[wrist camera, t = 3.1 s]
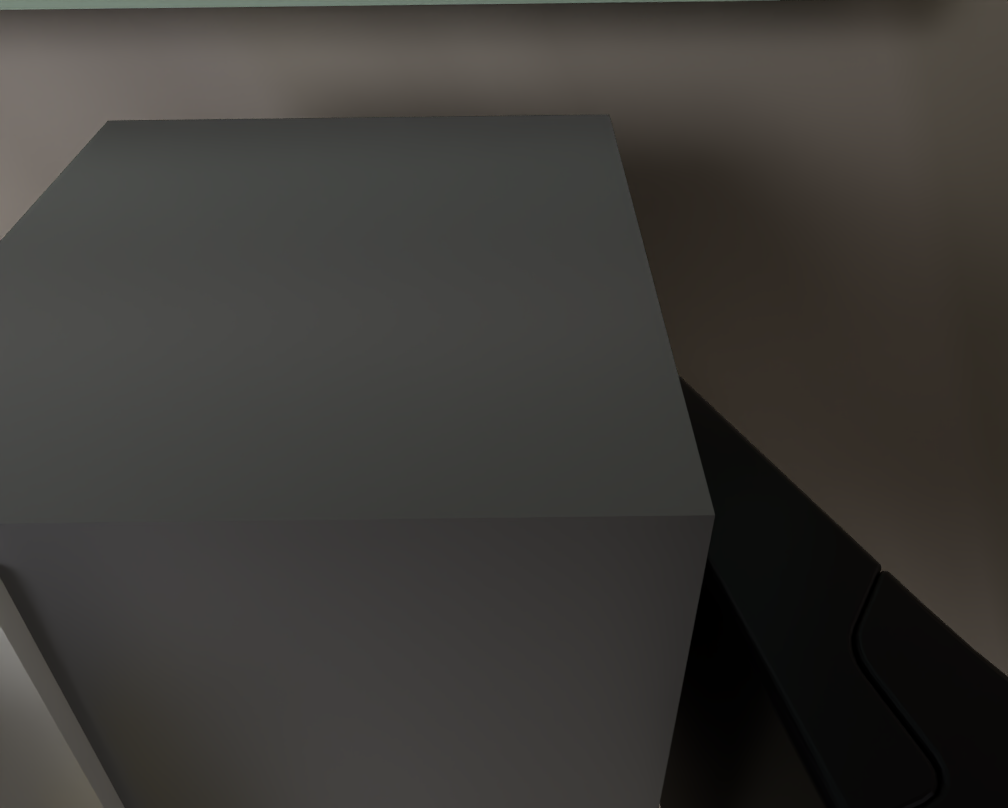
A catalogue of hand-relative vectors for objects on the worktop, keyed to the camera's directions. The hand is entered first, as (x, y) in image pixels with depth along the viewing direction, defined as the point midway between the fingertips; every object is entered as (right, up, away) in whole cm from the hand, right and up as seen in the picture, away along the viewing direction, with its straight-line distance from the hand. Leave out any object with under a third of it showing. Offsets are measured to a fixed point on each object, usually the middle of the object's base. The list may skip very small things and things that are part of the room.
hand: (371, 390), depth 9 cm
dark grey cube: (0, +1, +1) cm, 1 cm away
